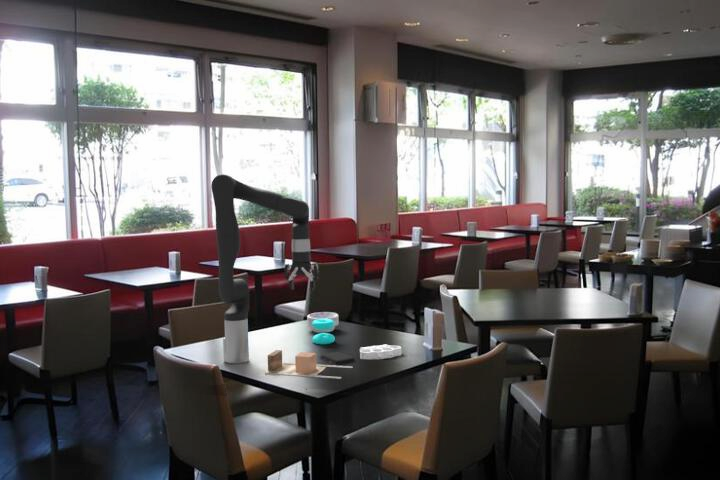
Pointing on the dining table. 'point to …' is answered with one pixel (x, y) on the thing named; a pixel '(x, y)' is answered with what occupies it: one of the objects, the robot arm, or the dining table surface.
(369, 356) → the white brass knuckles
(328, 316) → the clear glass round bowl
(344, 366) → the rails
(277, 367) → the wooden stand
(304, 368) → the block
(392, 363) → the dining table surface
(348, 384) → the dining table surface
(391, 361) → the dining table surface
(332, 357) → the carrying case or bag
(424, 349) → the dining table surface
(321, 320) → the donuts
